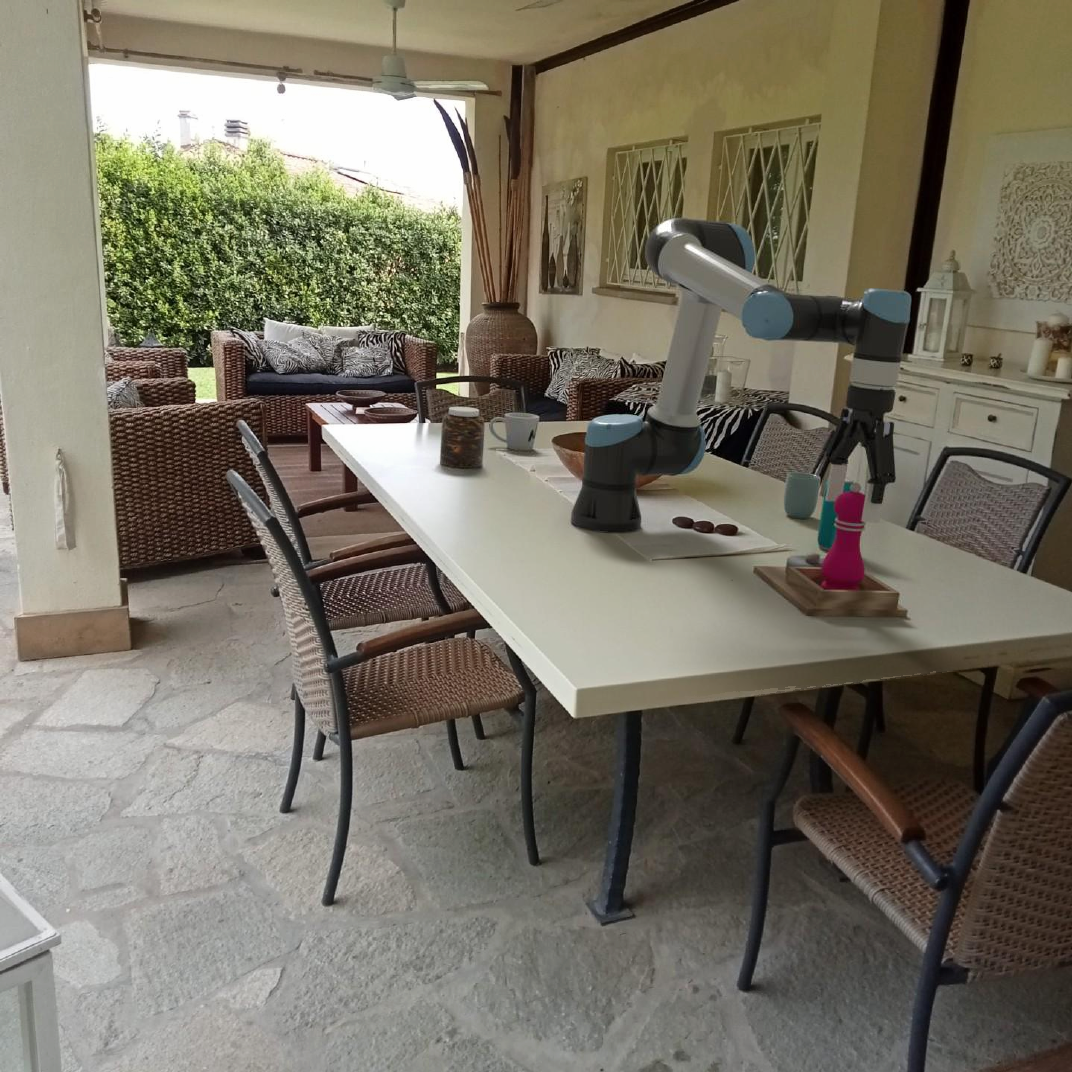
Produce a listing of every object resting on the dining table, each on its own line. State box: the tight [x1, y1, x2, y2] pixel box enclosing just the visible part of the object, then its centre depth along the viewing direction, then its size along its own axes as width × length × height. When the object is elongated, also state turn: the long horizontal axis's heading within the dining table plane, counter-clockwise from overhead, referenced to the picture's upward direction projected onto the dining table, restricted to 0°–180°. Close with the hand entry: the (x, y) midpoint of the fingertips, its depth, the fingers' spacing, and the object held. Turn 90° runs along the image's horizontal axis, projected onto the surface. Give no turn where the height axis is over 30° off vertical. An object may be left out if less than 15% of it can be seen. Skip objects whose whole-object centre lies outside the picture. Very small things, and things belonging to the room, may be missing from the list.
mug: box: [488, 412, 540, 451], centre depth 298 cm, size 10×15×10 cm
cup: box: [783, 471, 822, 520], centre depth 235 cm, size 8×8×10 cm
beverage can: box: [816, 476, 855, 552], centre depth 207 cm, size 6×6×15 cm
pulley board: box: [753, 552, 908, 618], centre depth 177 cm, size 18×24×5 cm
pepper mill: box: [821, 482, 867, 590], centre depth 170 cm, size 7×7×20 cm
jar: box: [439, 406, 485, 469], centre depth 267 cm, size 12×12×15 cm
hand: (850, 511), depth 169 cm, fingers open, 13 cm apart
